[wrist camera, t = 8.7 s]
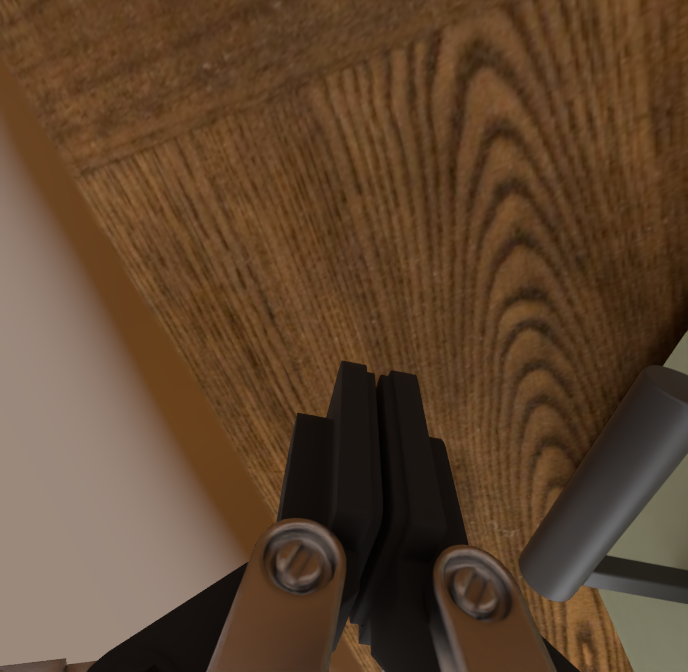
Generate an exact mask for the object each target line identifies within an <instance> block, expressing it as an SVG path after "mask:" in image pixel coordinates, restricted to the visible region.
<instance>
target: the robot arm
mask: <svg viewBox="0 0 688 672" xmlns="http://www.w3.org/2000/svg"><path fill="white" fill-rule="evenodd" d="M348 617H349V619H350V623H352V624H359V644H365V645H371V655H372V657H373V658H374V659H375V660H376V661H377V663H378V664H379V665H380V666H381V668H382V671H381V672H580V671H579V670H578V669H577V668H576V667H575V666H573V665H572V664H571V663H570V662H569V661H568V660H567V659H566V658H565V657H564V656H563V655H562V654H561V653H559V652H558V651H557V650H556V649H555V648H554V647H553V646H552V645H551V644H550V643H549V642H548V641H547V640H546V639H544V638H543V637H542V636H541V635H540V632H539V630H538V628H537V626H536V624H535V621H534V619H533V617H532V615H531V612H530V610H529V608H528V606H527V604H526V601H525V599H524V597H523V595H522V592H521V590H520V588H519V586H518V584H517V582H516V581H515V579H514V577H513V576H512V574H511V572H510V571H509V570H508V569H507V568H506V567H505V566H504V565H503V564H502V563H501V561H499V560H498V559H497V558H495V557H494V556H492V555H491V554H490V553H488V552H486V551H484V550H482V549H479V548H477V547H474V546H469V545H468V540H467V536H466V532H465V528H464V523H463V519H462V515H461V511H460V506H459V502H458V498H457V494H456V489H455V485H454V481H453V477H452V472H451V468H450V464H449V460H448V455H447V451H446V447H445V444H444V442H443V441H442V440H441V439H438V438H432V437H429V435H428V430H427V425H426V420H425V415H424V409H423V404H422V399H421V394H420V389H419V384H418V379H417V376H416V375H413V374H408V373H403V372H398V371H393V370H392V371H390V373H389V375H388V376H385V375H381V376H380V378H379V380H378V383H377V387H376V384H375V374H374V373H370V372H367V366H366V365H362V364H357V363H352V362H347V361H342V362H341V364H340V368H339V371H338V375H337V379H336V383H335V386H334V390H333V394H332V398H331V402H330V406H329V409H328V413H327V417H326V418H324V417H318V416H313V415H307V414H302V413H297V416H296V421H295V425H294V430H293V434H292V439H291V443H290V448H289V453H288V459H287V464H286V469H285V475H284V481H283V486H282V492H281V498H280V504H279V510H278V516H277V522H276V523H274V524H272V525H271V526H270V527H269V528H267V529H266V530H265V531H264V532H263V533H262V534H261V536H260V537H259V539H258V541H257V542H256V544H255V547H254V549H253V552H252V554H251V557H250V560H249V561H248V562H247V563H245V564H244V565H242V566H241V567H239V568H238V569H236V570H234V571H233V572H231V573H230V574H228V575H227V576H225V577H224V578H222V579H221V580H219V581H218V582H216V583H214V584H213V585H211V586H210V587H208V588H207V589H205V590H203V591H202V592H200V593H199V594H197V595H196V596H194V597H193V598H191V599H189V600H188V601H186V602H185V603H183V604H182V605H180V606H179V607H177V608H175V609H174V610H172V611H171V612H169V613H168V614H166V615H165V616H163V617H162V618H160V619H158V620H157V621H155V622H154V623H152V624H151V625H149V626H147V627H146V628H144V629H143V630H141V631H140V632H138V633H137V634H135V635H134V636H132V637H130V638H129V639H127V640H126V641H124V642H123V643H121V644H120V645H118V646H116V647H115V648H113V649H112V650H110V651H109V652H107V653H106V654H105V655H104V656H102V657H101V658H100V659H99V660H98V661H93V662H85V663H77V664H69V665H67V662H66V658H65V659H57V660H49V661H40V662H32V663H23V664H15V665H7V666H0V672H328V671H329V665H330V659H331V654H332V652H333V651H334V650H335V649H336V646H337V644H338V642H339V639H340V637H341V634H342V632H343V629H344V627H345V624H346V622H347V619H348Z"/></svg>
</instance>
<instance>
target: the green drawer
mask: <svg viewBox="0 0 688 672" xmlns="http://www.w3.org/2000/svg"><path fill="white" fill-rule="evenodd" d="M519 567H520V571H521V573H522V575H523V577H524V579H525V581H526V582H527V583H528V584H529V586H530V587H531V588H532V589H533V590H534V591H536V592H537V593H538V594H540V595H541V596H543V597H545V598H547V599H549V600H552V601H557V602H562V601H567V600H569V599H571V598H572V597H573V595H574V594H575V593H576V592H577V590H578V589H579V588H580V587H581V585H583V586H587V587H593V588H597V589H598V591H599V593H600V596H601V598H602V600H603V602H604V605H605V607H606V609H607V611H608V614H609V616H610V618H611V621H612V623H613V625H614V627H615V630H616V632H617V634H618V636H619V639H620V641H621V643H622V645H623V648H624V650H625V652H626V655H627V657H628V659H629V661H630V664H631V666H632V668H633V670H634V672H688V330H687V331H686V333H685V334H684V336H683V337H682V339H681V340H680V342H679V343H678V345H677V346H676V348H675V349H674V351H673V352H672V353H671V355H670V356H669V358H668V359H667V361H666V362H665V364H664V365H663V366H658V365H649V366H646V367H645V368H643V369H642V371H641V372H640V374H639V375H638V377H637V378H636V380H635V381H634V383H633V384H632V386H631V387H630V389H629V390H628V392H627V394H626V395H625V397H624V398H623V400H622V401H621V403H620V404H619V406H618V407H617V409H616V410H615V412H614V413H613V415H612V416H611V418H610V419H609V421H608V422H607V424H606V425H605V427H604V428H603V430H602V431H601V433H600V435H599V436H598V438H597V439H596V441H595V442H594V444H593V445H592V447H591V448H590V450H589V451H588V453H587V454H586V456H585V457H584V459H583V460H582V462H581V463H580V465H579V466H578V468H577V469H576V471H575V472H574V474H573V476H572V477H571V479H570V480H569V482H568V483H567V485H566V486H565V488H564V489H563V491H562V492H561V494H560V495H559V497H558V498H557V500H556V501H555V503H554V504H553V506H552V507H551V509H550V510H549V512H548V514H547V515H546V517H545V518H544V520H543V521H542V523H541V524H540V526H539V527H538V529H537V530H536V532H535V533H534V535H533V536H532V538H531V539H530V541H529V542H528V544H527V545H526V547H525V548H524V550H523V551H522V553H521V555H520V558H519Z"/></svg>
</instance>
